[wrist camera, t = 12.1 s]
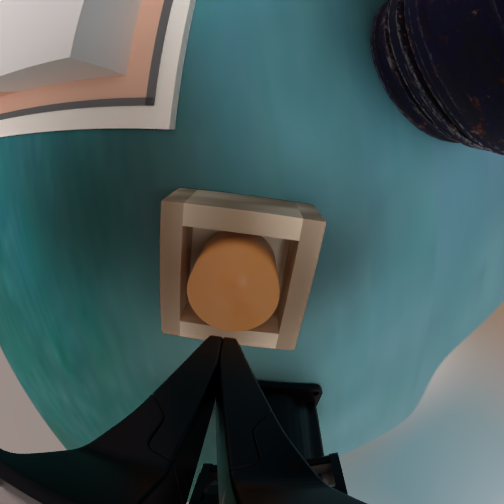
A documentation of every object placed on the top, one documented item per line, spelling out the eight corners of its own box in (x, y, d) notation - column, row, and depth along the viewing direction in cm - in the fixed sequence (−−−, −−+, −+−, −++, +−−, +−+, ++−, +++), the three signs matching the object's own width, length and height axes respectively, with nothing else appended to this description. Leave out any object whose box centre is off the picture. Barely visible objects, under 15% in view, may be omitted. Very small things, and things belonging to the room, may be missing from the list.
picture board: (204, -33, 10) (200, -44, 9) (174, 129, 14) (167, 129, 13) (2, 17, 9) (-8, 14, 8) (-18, 139, 13) (-29, 142, 12)
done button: (282, 233, 15) (287, 258, 12) (269, 302, 16) (271, 335, 14) (201, 223, 15) (188, 245, 12) (197, 292, 16) (186, 324, 13)
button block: (314, 205, 15) (326, 222, 12) (289, 317, 18) (294, 350, 15) (179, 187, 15) (161, 200, 12) (175, 303, 17) (161, 332, 15)
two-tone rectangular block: (142, -1, 10) (99, -42, 5) (126, 75, 11) (70, 57, 7) (3, 37, 9) (-48, 31, 5) (-9, 99, 11) (-63, 103, 7)
